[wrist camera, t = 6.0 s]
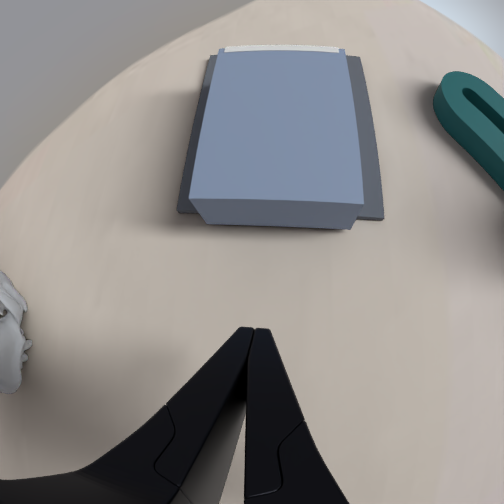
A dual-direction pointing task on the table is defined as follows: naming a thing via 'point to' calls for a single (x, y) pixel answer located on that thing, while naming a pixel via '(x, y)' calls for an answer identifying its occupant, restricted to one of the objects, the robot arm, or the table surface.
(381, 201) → the mat
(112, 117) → the table surface
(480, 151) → the bracket
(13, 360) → the skull
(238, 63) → the book block
